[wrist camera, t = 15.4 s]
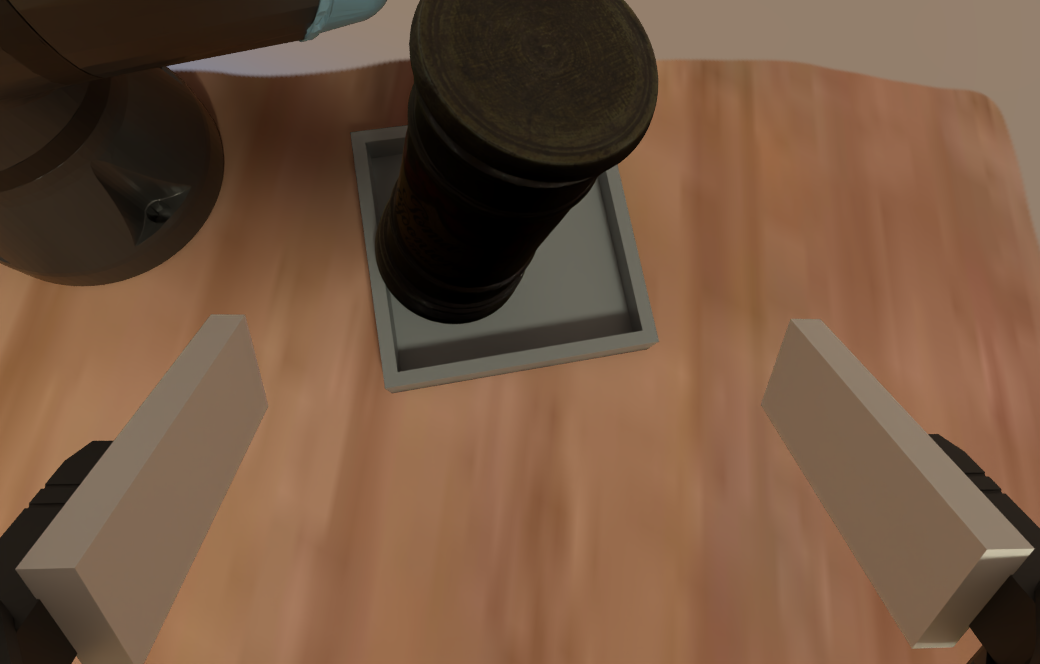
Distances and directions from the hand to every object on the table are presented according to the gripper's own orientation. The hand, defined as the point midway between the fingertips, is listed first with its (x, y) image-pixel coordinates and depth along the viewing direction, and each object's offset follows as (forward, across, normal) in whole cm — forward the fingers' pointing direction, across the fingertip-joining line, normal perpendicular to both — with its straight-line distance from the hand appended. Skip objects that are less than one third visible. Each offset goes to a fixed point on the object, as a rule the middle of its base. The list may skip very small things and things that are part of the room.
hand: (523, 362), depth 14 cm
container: (+21, -3, -7) cm, 22 cm away
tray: (+22, 0, -7) cm, 24 cm away
